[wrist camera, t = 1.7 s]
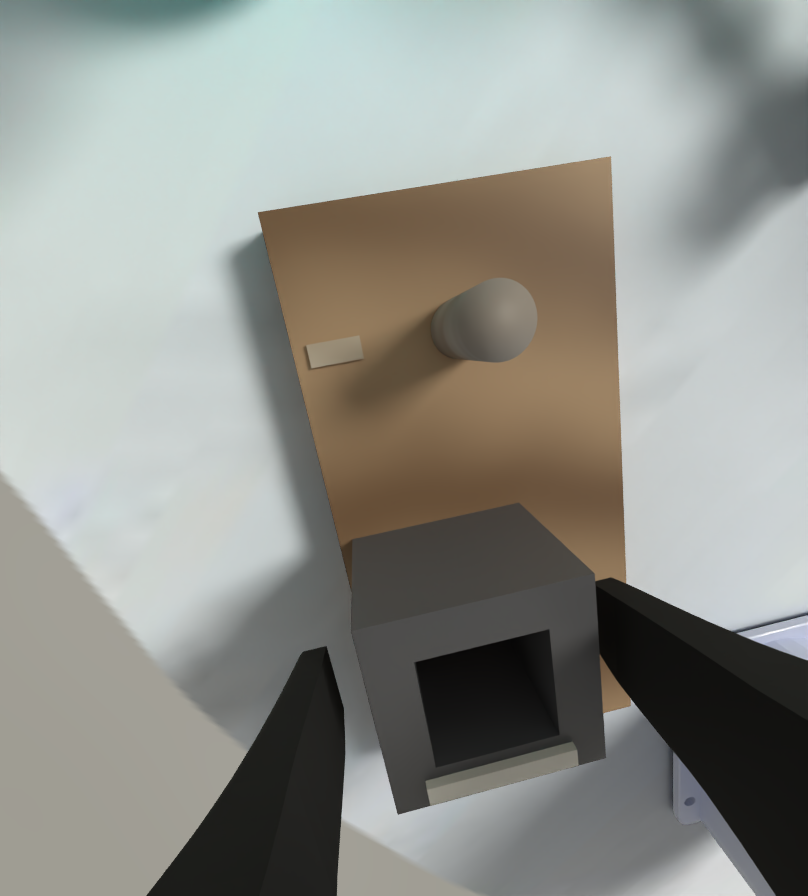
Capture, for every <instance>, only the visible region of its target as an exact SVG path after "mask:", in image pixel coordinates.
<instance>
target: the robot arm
mask: <svg viewBox="0 0 808 896" xmlns="http://www.w3.org/2000/svg"><path fill="white" fill-rule="evenodd" d="M595 585H596V602H597V618H598V635H599V652H600V655H601V657H602V659H603V660H604V662H605V663H606V665H607V667H608V668H609V670H610V671H611V673H612V674H613V676H614V677H615V679H616V680H617V682H618V683H619V684H620V686H621V687H622V688H623V689H624V691H625V692H626V693H627V694H628V696H629V697H630V698H631V699H632V701H633V702H634V703H635V705H636V706H637V707H638V708H639V710H640V711H641V712H642V713H643V714H644V716H645V717H646V718H647V719H648V721H649V722H650V723H651V724H652V726H653V727H654V728H655V729H656V731H657V732H658V733H659V734H660V735H661V737H662V738H663V739H664V740H665V742H666V743H667V744H668V745H669V747H670V748H671V749H672V750H673V813H674V815H675V817H676V818H677V820H678V821H679V822H680V823H681V824H683V825H690V824H694V823H697V822H701V821H702V822H703V824H704V825H705V827H706V828H707V829H708V831H709V832H710V833H711V835H712V836H713V837H714V839H715V840H716V842H717V843H718V844H719V846H720V847H721V848H722V850H723V851H724V852H725V854H726V855H727V857H728V858H729V859H730V861H731V862H732V863H733V865H734V866H735V867H736V869H737V870H738V872H739V873H740V874H741V876H742V877H743V878H744V880H745V881H746V882H747V884H748V885H749V887H750V888H751V889H752V891H753V892H754V893H755V895H756V896H808V615H806V616H802V617H798V618H794V619H790V620H787V621H783V622H779V623H775V624H771V625H767V626H763V627H759V628H755V629H751V630H747V631H743V632H739V633H734V632H731V631H729V630H727V629H724V628H722V627H720V626H717V625H715V624H713V623H710V622H708V621H706V620H703V619H701V618H699V617H697V616H695V615H692V614H690V613H688V612H686V611H684V610H681V609H679V608H677V607H675V606H673V605H671V604H668V603H666V602H664V601H662V600H660V599H658V598H656V597H654V596H651V595H649V594H647V593H645V592H643V591H641V590H639V589H637V588H634V587H632V586H630V585H628V584H626V583H624V582H621V581H619V580H617V579H614V578H612V577H610V578H606V579H602V580H598V581H595ZM344 767H345V727H344V707H343V704H342V700H341V697H340V693H339V689H338V686H337V682H336V679H335V675H334V671H333V668H332V664H331V661H330V657H329V654H328V650H327V646H325V647H321V648H317V649H313V650H308V651H304V652H303V653H302V654H301V655H300V657H299V659H298V661H297V663H296V665H295V667H294V669H293V671H292V673H291V675H290V677H289V679H288V681H287V683H286V685H285V687H284V689H283V691H282V692H281V694H280V696H279V698H278V700H277V702H276V704H275V706H274V707H273V709H272V711H271V713H270V715H269V716H268V718H267V720H266V722H265V724H264V725H263V727H262V729H261V731H260V733H259V734H258V736H257V738H256V740H255V741H254V743H253V744H252V746H251V748H250V749H249V751H248V753H247V754H246V756H245V758H244V759H243V761H242V763H241V764H240V766H239V767H238V769H237V771H236V772H235V774H234V776H233V777H232V779H231V780H230V782H229V783H228V785H227V786H226V788H225V789H224V791H223V792H222V794H221V795H220V797H219V798H218V800H217V801H216V803H215V804H214V806H213V807H212V809H211V810H210V811H209V813H208V814H207V816H206V817H205V819H204V820H203V822H202V823H201V825H200V826H199V827H198V829H197V830H196V831H195V833H194V834H193V835H192V837H191V838H190V839H189V841H188V842H187V844H186V845H185V846H184V848H183V849H182V850H181V851H180V853H179V854H178V856H177V857H176V858H175V859H174V861H173V862H172V863H171V865H170V866H169V867H168V869H167V870H166V871H165V872H164V874H163V875H162V876H161V878H160V879H159V880H158V881H157V883H156V884H155V885H154V887H153V888H152V889H151V891H150V892H149V893H148V894H147V896H337V873H338V858H339V843H340V827H341V813H342V798H343V783H344Z"/></svg>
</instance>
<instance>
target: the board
mask: <svg viewBox="0 0 808 896" xmlns="http://www.w3.org/2000/svg"><path fill="white" fill-rule="evenodd" d="M258 215H259V219H260V223H261V227H262V231H263V235H264V239H265V243H266V248H267V252H268V256H269V260H270V264H271V268H272V272H273V276H274V280H275V284H276V288H277V292H278V296H279V300H280V304H281V308H282V312H283V316H284V320H285V325H286V329H287V333H288V337H289V341H290V345H291V349H292V353H293V357H294V361H295V365H296V369H297V373H298V377H299V381H300V385H301V389H302V393H303V397H304V402H305V406H306V410H307V414H308V418H309V422H310V426H311V430H312V434H313V438H314V442H315V446H316V450H317V454H318V458H319V462H320V466H321V470H322V474H323V479H324V483H325V487H326V491H327V495H328V499H329V503H330V507H331V511H332V515H333V519H334V523H335V527H336V531H337V535H338V539H339V543H340V547H341V551H342V556H343V560H344V564H345V568H346V572H347V576H348V580H349V584H350V588H351V592H352V539H356V538H360V537H365V536H369V535H374V534H379V533H383V532H388V531H392V530H397V529H401V528H406V527H410V526H415V525H419V524H424V523H428V522H433V521H438V520H442V519H447V518H451V517H456V516H460V515H465V514H469V513H474V512H478V511H483V510H487V509H492V508H497V507H501V506H506V505H510V504H515V503H520V504H521V505H522V506H523V507H524V508H525V509H526V510H527V511H529V512H530V513H531V514H532V515H533V516H534V517H535V518H536V519H537V520H538V521H539V522H540V523H541V524H542V525H543V526H545V527H546V528H547V529H548V530H549V531H550V532H551V533H552V534H553V535H554V536H555V537H556V538H557V539H558V540H560V541H561V542H562V543H563V544H564V545H565V546H566V547H567V548H568V549H569V550H570V551H571V552H572V553H573V554H574V555H576V556H577V557H578V558H579V559H580V560H581V561H582V562H583V563H584V564H585V565H586V566H587V567H588V568H589V569H591V570H592V571H593V572H594V573H595V581H598V580H602V579H606V578H610V577H612V578H614V579H617V580H619V581H621V582H624V583H626V563H625V535H624V507H623V480H622V452H621V424H620V396H619V368H618V341H617V313H616V285H615V257H614V230H613V202H612V174H611V157H605V158H598V159H592V160H586V161H580V162H573V163H567V164H561V165H554V166H548V167H542V168H535V169H529V170H523V171H516V172H510V173H504V174H497V175H491V176H485V177H479V178H472V179H466V180H460V181H453V182H447V183H441V184H434V185H428V186H422V187H415V188H409V189H403V190H396V191H390V192H384V193H377V194H371V195H365V196H359V197H352V198H346V199H340V200H333V201H327V202H321V203H314V204H308V205H302V206H295V207H289V208H283V209H276V210H270V211H264V212H258ZM600 669H601V686H602V702H603V713H606V712H609V711H613V710H617V709H621V708H625V707H628V706H631V702H630V697H629V696H628V694H627V693H626V692H625V691H624V689H623V688H622V687H621V686H620V684H619V683H618V682H617V680H616V679H615V677H614V676H613V674H612V673H611V671H610V670H609V668H608V667H607V665H606V663H605V662H604V660H603V659H602V657H601V655H600Z"/></svg>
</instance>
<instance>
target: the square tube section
mask: <svg viewBox="0 0 808 896" xmlns="http://www.w3.org/2000/svg"><path fill="white" fill-rule="evenodd" d="M351 633H352V637H353V641H354V644H355V648H356V652H357V656H358V660H359V664H360V668H361V672H362V676H363V680H364V684H365V688H366V692H367V696H368V699H369V703H370V707H371V711H372V715H373V719H374V723H375V727H376V731H377V735H378V739H379V743H380V747H381V750H382V754H383V758H384V762H385V766H386V770H387V774H388V778H389V782H390V786H391V790H392V794H393V798H394V802H395V805H396V809H397V813H398V814H402V813H406V812H409V811H413V810H417V809H420V808H424V807H428V806H432V805H436V804H439V803H443V802H447V801H450V800H454V799H458V798H461V797H465V796H469V795H472V794H476V793H480V792H483V791H487V790H491V789H494V788H498V787H502V786H505V785H509V784H513V783H516V782H520V781H524V780H527V779H531V778H535V777H538V776H542V775H546V774H550V773H553V772H557V771H561V770H564V769H568V768H572V767H575V766H579V765H582V764H585V763H589V762H593V761H596V760H600V759H604V758H606V753H605V736H604V719H603V702H602V686H601V669H600V652H599V635H598V618H597V602H596V585H595V573H594V572H593V571H592V570H591V569H589V568H588V567H587V566H586V565H585V564H584V563H583V562H582V561H581V560H580V559H579V558H578V557H577V556H576V555H574V554H573V553H572V552H571V551H570V550H569V549H568V548H567V547H566V546H565V545H564V544H563V543H562V542H561V541H560V540H558V539H557V538H556V537H555V536H554V535H553V534H552V533H551V532H550V531H549V530H548V529H547V528H546V527H545V526H543V525H542V524H541V523H540V522H539V521H538V520H537V519H536V518H535V517H534V516H533V515H532V514H531V513H530V512H529V511H527V510H526V509H525V508H524V507H523V506H522V505H521V504H520V503H515V504H510V505H506V506H501V507H497V508H492V509H487V510H483V511H478V512H474V513H469V514H465V515H460V516H456V517H451V518H447V519H442V520H438V521H433V522H428V523H424V524H419V525H415V526H410V527H406V528H401V529H397V530H392V531H388V532H383V533H379V534H374V535H369V536H365V537H360V538H356V539H352V606H351Z"/></svg>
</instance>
